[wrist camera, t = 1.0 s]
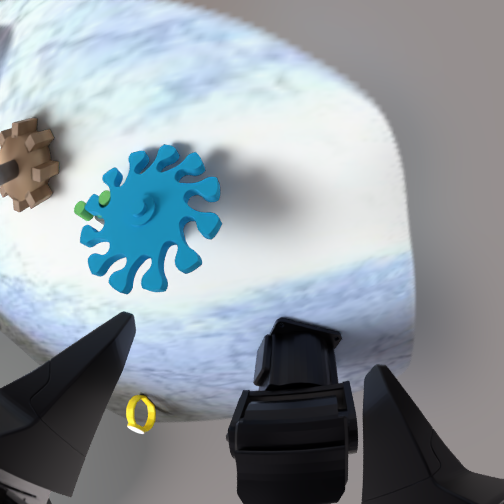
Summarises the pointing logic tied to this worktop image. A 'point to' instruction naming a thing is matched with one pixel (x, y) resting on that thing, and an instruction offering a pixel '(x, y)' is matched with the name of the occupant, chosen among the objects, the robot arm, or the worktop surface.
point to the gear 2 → (148, 218)
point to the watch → (130, 414)
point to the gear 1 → (26, 164)
